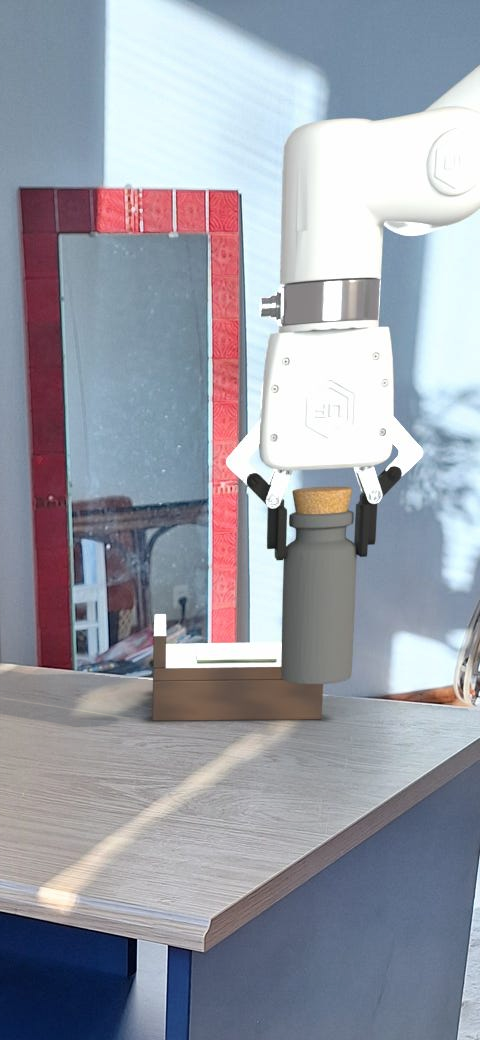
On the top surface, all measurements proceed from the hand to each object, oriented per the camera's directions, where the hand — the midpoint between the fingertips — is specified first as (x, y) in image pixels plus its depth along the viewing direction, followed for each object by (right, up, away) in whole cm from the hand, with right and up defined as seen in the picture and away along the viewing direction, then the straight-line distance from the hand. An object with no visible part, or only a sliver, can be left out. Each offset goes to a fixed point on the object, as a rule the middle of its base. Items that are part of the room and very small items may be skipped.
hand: (320, 554), depth 120 cm
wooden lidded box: (-3, -6, +27) cm, 28 cm away
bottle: (+1, -9, +4) cm, 10 cm away
